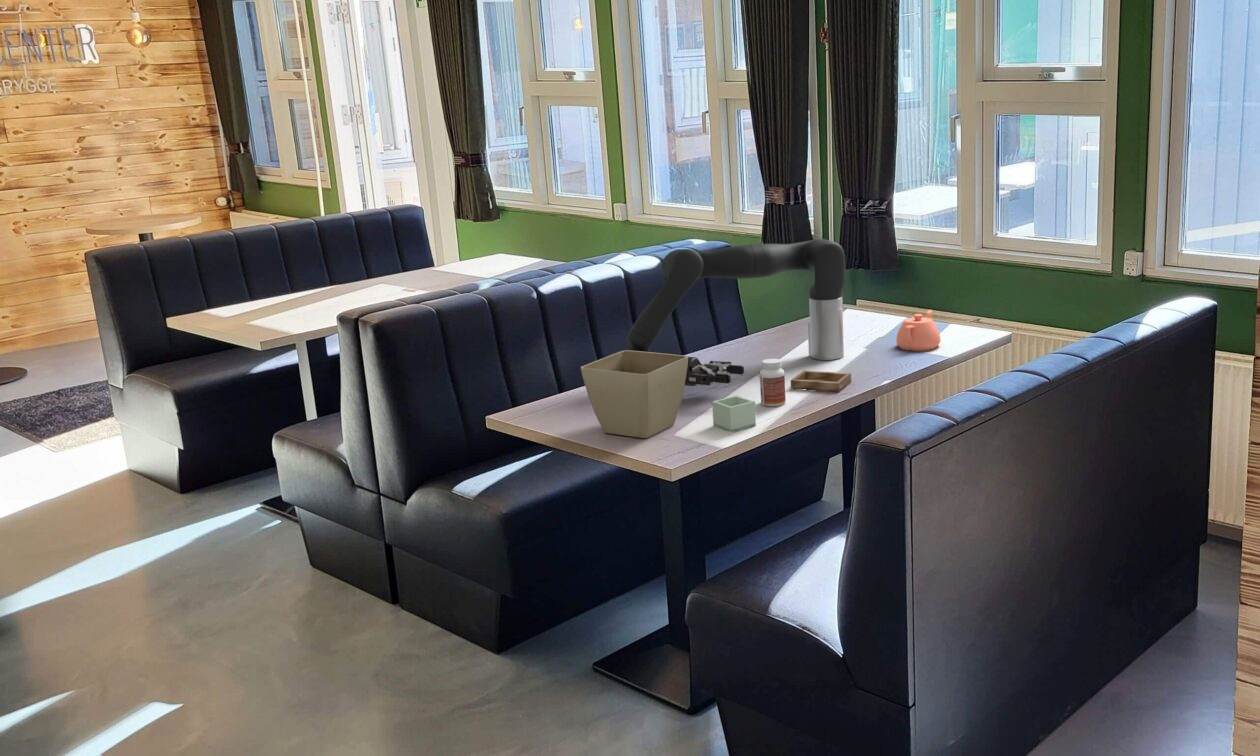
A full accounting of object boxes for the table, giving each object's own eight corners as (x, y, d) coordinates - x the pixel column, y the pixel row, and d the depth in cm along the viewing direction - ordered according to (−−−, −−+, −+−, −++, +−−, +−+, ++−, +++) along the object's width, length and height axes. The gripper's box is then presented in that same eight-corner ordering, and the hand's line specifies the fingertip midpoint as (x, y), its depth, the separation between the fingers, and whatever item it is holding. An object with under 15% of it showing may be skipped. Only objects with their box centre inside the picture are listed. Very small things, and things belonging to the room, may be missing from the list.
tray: (790, 389, 319) (790, 380, 318) (804, 379, 327) (804, 370, 327) (838, 392, 313) (838, 383, 312) (851, 382, 321) (851, 373, 320)
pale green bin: (713, 425, 293) (712, 401, 291) (737, 419, 296) (736, 395, 295) (731, 432, 287) (730, 407, 285) (755, 425, 290) (754, 401, 289)
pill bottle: (790, 403, 306) (789, 360, 303) (771, 408, 303) (770, 365, 300) (774, 398, 311) (773, 356, 308) (755, 403, 308) (754, 361, 305)
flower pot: (629, 413, 307) (624, 348, 303) (693, 422, 296) (690, 354, 292) (584, 435, 292) (578, 367, 288) (650, 445, 282) (645, 374, 277)
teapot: (886, 351, 350) (886, 319, 347) (912, 337, 364) (912, 306, 361) (927, 355, 343) (926, 322, 340) (951, 340, 357) (951, 309, 354)
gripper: (666, 363, 311) (724, 367, 303) (690, 350, 323) (747, 353, 315) (668, 392, 313) (726, 396, 305) (692, 377, 325) (748, 381, 317)
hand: (736, 374), depth 310 cm, fingers open, 8 cm apart
